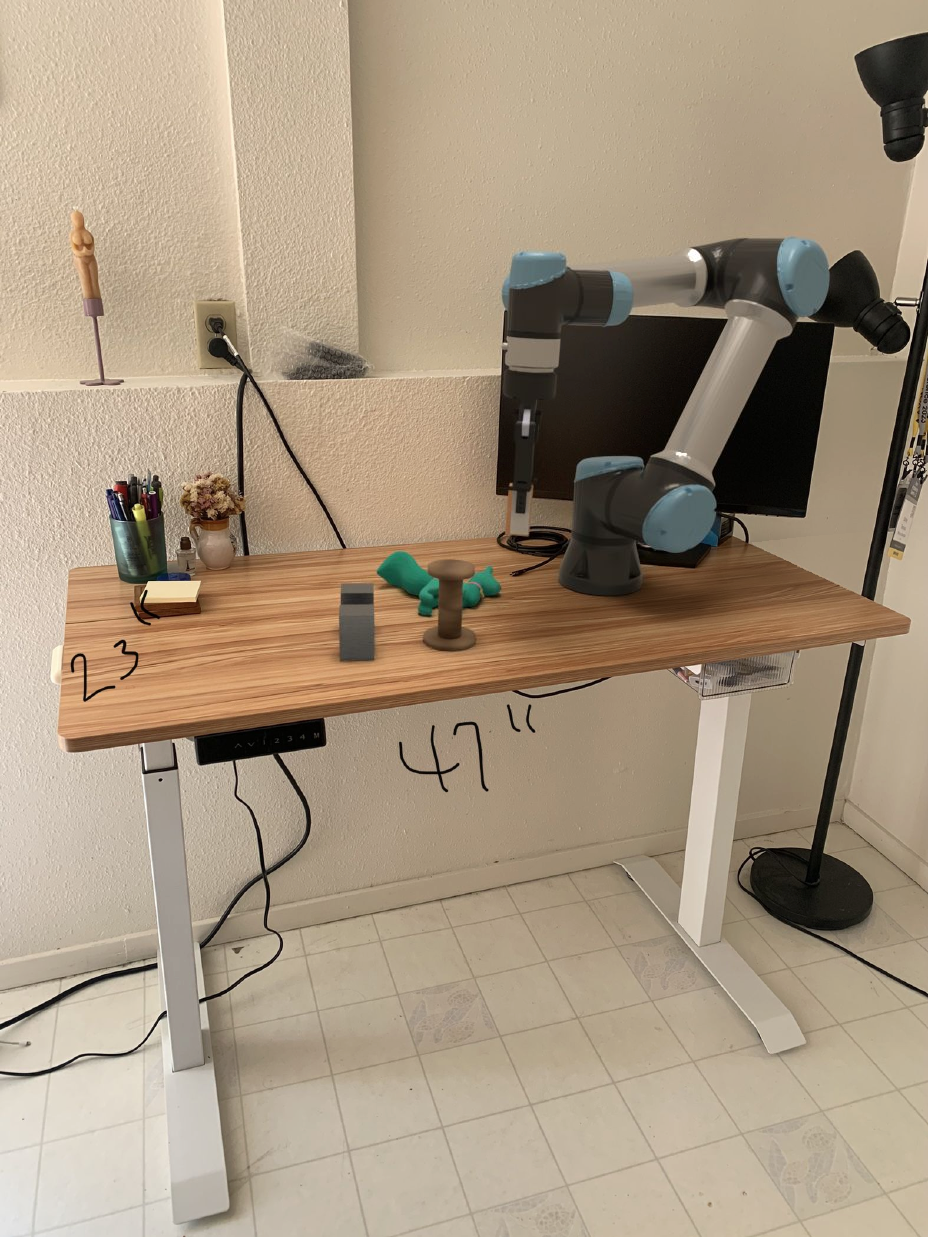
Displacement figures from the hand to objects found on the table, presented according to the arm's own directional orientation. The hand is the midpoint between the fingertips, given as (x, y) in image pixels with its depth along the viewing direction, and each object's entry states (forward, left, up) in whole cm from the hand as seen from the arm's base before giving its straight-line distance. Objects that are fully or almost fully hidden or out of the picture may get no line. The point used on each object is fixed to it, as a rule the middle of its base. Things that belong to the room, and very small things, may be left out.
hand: (519, 529), depth 139 cm
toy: (+11, -18, -18) cm, 28 cm away
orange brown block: (0, 0, 0) cm, 1 cm away
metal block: (+24, +2, -17) cm, 30 cm away
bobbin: (+10, +2, -17) cm, 20 cm away
